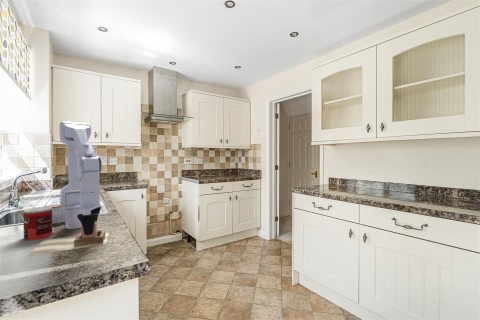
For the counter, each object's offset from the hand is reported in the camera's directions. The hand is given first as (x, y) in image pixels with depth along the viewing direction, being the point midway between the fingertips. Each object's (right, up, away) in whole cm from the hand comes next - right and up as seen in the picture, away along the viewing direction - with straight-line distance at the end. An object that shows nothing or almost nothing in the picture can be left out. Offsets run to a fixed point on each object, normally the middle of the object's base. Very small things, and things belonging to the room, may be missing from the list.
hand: (90, 231), depth 79 cm
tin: (-31, -4, +23) cm, 39 cm away
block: (0, -3, 0) cm, 3 cm away
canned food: (-22, -5, +5) cm, 23 cm away
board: (-5, -4, -1) cm, 7 cm away
